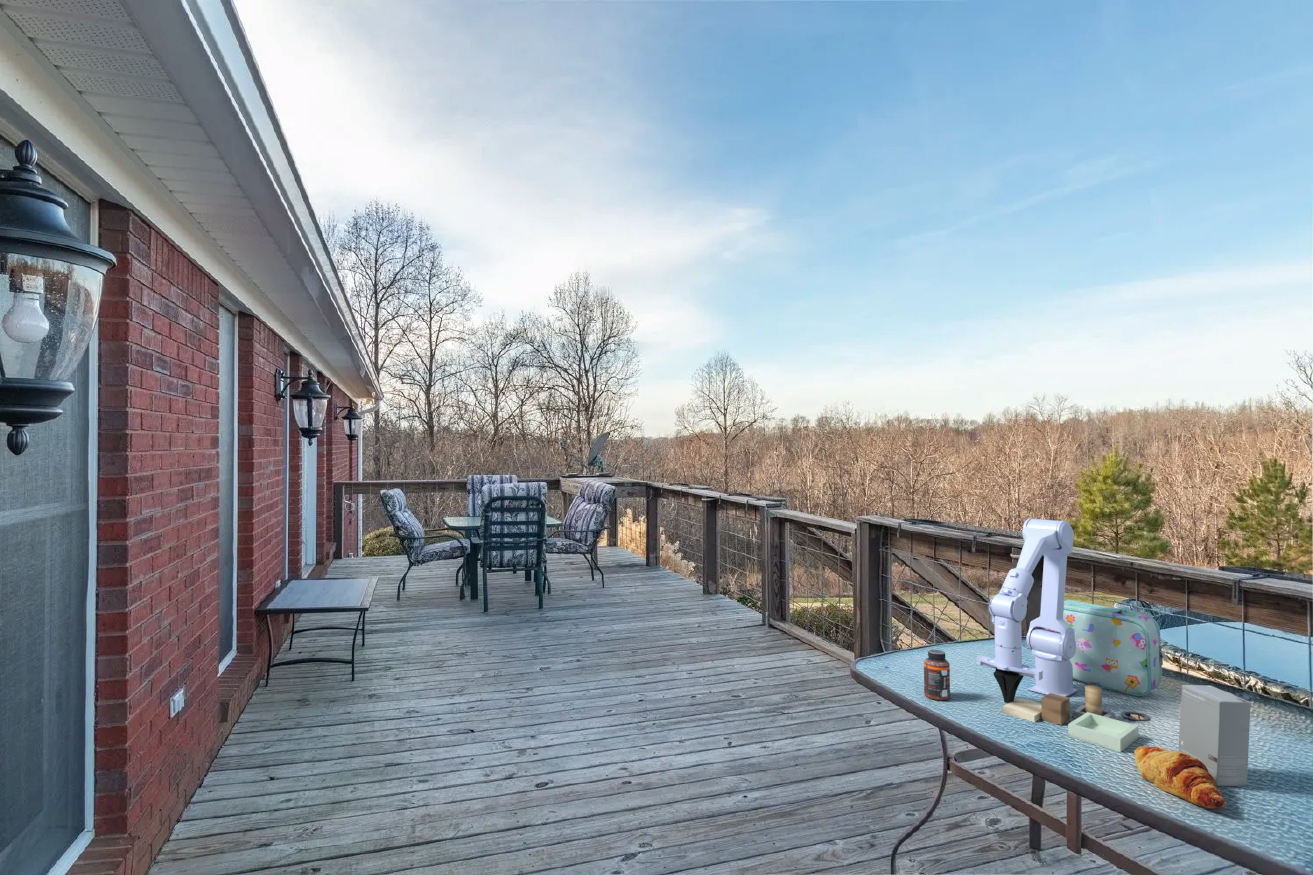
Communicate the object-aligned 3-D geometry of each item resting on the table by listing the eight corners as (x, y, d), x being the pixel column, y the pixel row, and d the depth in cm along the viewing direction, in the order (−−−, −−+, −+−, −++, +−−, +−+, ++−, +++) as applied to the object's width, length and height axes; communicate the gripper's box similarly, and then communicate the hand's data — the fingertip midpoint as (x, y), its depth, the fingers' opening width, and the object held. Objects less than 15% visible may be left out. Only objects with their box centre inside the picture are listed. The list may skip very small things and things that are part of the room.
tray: (1087, 723, 145) (1087, 711, 145) (1138, 738, 138) (1138, 725, 138) (1068, 736, 139) (1068, 724, 139) (1120, 752, 131) (1120, 739, 131)
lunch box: (1172, 695, 163) (1170, 610, 163) (1156, 704, 157) (1154, 615, 158) (1058, 667, 185) (1056, 592, 186) (1040, 674, 179) (1039, 596, 180)
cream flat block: (1021, 705, 158) (1021, 696, 158) (1053, 714, 152) (1052, 705, 152) (1002, 714, 151) (1002, 706, 152) (1034, 724, 146) (1034, 715, 146)
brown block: (1050, 714, 150) (1050, 692, 151) (1069, 720, 147) (1069, 697, 147) (1041, 719, 147) (1041, 697, 147) (1061, 725, 144) (1060, 702, 144)
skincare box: (1176, 766, 125) (1174, 683, 126) (1210, 764, 126) (1208, 682, 126) (1218, 788, 117) (1216, 699, 117) (1254, 786, 117) (1252, 698, 118)
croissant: (1123, 776, 128) (1102, 739, 129) (1169, 753, 128) (1148, 716, 129) (1206, 836, 107) (1181, 791, 108) (1262, 809, 107) (1236, 764, 107)
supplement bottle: (952, 702, 158) (952, 655, 158) (926, 700, 159) (926, 654, 159) (946, 693, 164) (946, 648, 164) (921, 691, 165) (921, 647, 165)
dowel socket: (1083, 710, 153) (1083, 704, 153) (1115, 719, 148) (1115, 712, 148) (1072, 717, 149) (1072, 710, 149) (1105, 726, 144) (1104, 719, 144)
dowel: (1088, 714, 150) (1088, 684, 151) (1104, 718, 148) (1103, 688, 148) (1083, 717, 148) (1082, 687, 149) (1099, 722, 146) (1098, 691, 146)
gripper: (970, 641, 159) (970, 696, 159) (1033, 655, 148) (1034, 715, 147) (983, 636, 163) (984, 690, 163) (1046, 649, 152) (1047, 708, 152)
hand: (1009, 702), depth 155 cm, fingers closed
